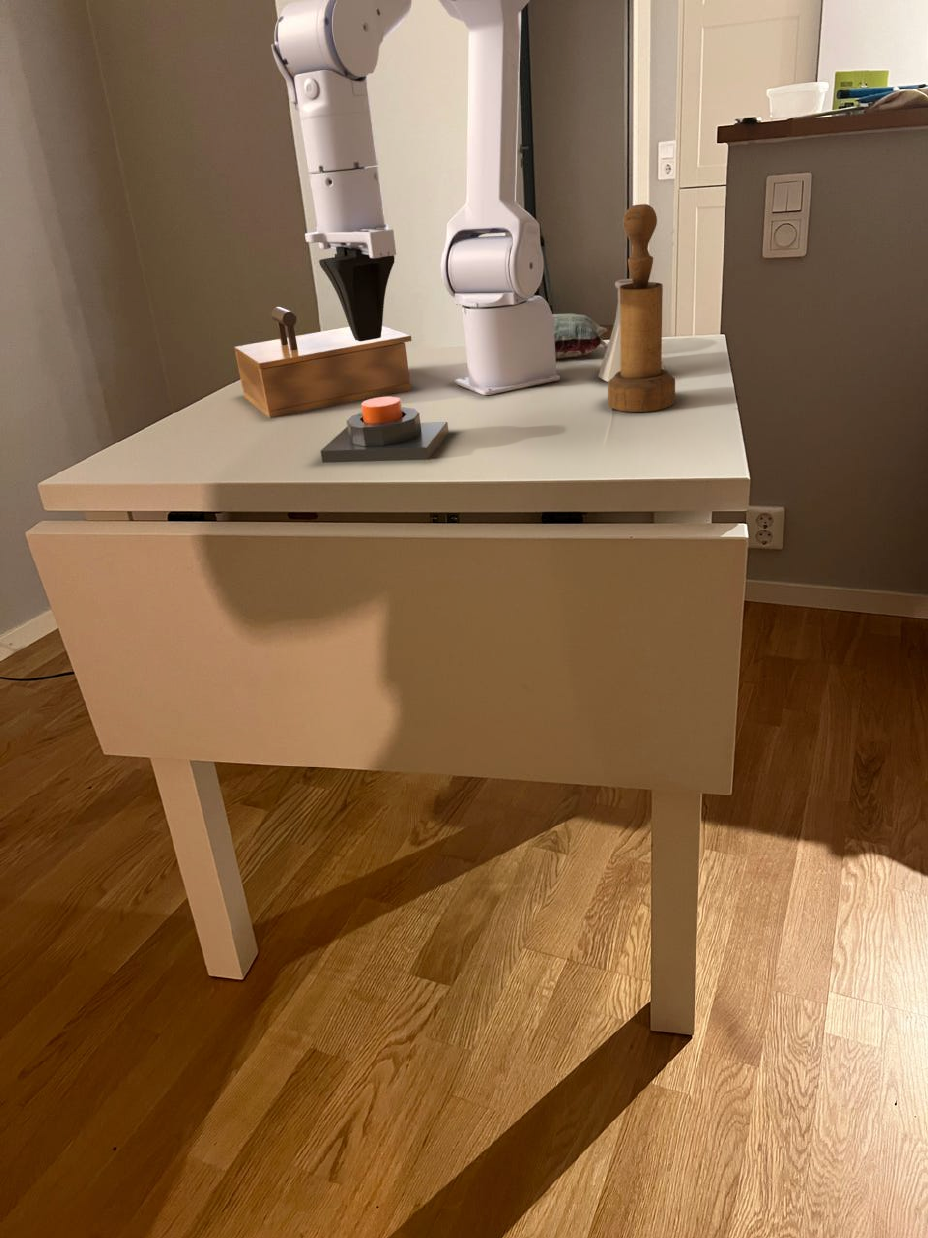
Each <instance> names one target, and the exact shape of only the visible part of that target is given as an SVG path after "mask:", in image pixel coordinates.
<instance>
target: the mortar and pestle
mask: <svg viewBox="0 0 928 1238" xmlns="http://www.w3.org/2000/svg"><path fill="white" fill-rule="evenodd" d="M622 220H623V221H622V227H623V228H622V229H623V230H624V233H625V234H626V237H627V238H628V240H629V242H630V243H631V249H632V250H631V255H630V257H629V258H628V259H627V263H628V270H629V274H630V277H631V279H632V280H633V283H630V284H624V285H621V286H620V334H621V371H619V372H617V373H616V374H615V375H614V377H613V378H612V379H610V380H609V382H607V404H608V407H609V408H611V409H614V410H615V411H620V412H627V413H630V412H631V413H645V412H647V413H649V412H655V411H661V410H663V409H667V408H669V407H672V406H673V405H674V404H675V402H676V378H675V377H674V376H672V375H671V374H670V373H669V372H668V371H667V370H666V369H665V368H664V369H665V370H664V369H662V363H663V361H662V356H663V355H662V354H663V351H662V349H663V292H664V291H663V286H664V285H663V283H661V282H655V281H650V277H651V274H652V273H651V272H652V269H653V264H654V256H652V255H651V254H650V253H649V244H650V241H651V238H652V237H653V234H654V232H655V231H656V228H657V225H658V217H657V213H656V211H655V209H654V208H653V207H652V206H651V205H650V204H647V203H642V204H634V205H631V206H630V207H628V209H627V210H626V211H625V213H624V215H623V218H622Z"/></svg>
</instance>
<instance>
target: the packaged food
mask: <svg viewBox="0 0 928 1238" xmlns="http://www.w3.org/2000/svg"><path fill="white" fill-rule="evenodd" d="M552 316H553V322H554V338H555V357H556V360H558V359H566V358H575V357H582V356H585V355H588V354H589V353H591V352H593V351H595V350H596V349H597V348H598V347H599V346H601V345H602V347H605V348H607V343H606V341H604V340H603V338H602V337H601V335H603V333H606V332H608V328H607V327H603V326H600V325H599V324H598V323H597V322H596V321H594V320H593V319H592V318H591V317H589V316H587V315H585V314H577V313H552Z"/></svg>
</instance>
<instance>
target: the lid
mask: <svg viewBox="0 0 928 1238" xmlns="http://www.w3.org/2000/svg"><path fill="white" fill-rule="evenodd" d="M270 315H271V318H272V320H273V321H275V322H276V323H277V330H278V336H279V338H276V339H272V340H271V339H270V340H266V341H260V342H255V343H248V344H242V345H237V346H234V347H233V349H234V352H235V353H237V354H239V355H240V356H242V357H243V358H245V359H246V360H248V361H249V362H251V363H252V364H254V365H255V366H257V367H258V368H260V369H263V368H268V367H274V366H279V365H285V364H290V363H295V362H301V361H306V360H312V359H317V358H322V357H328V356H333V355H339V354H344V353H349V352H355V351H360V350H366V349H371V348H377V347H382V346H387V345H393V344H398V343H409V342H412V341H413V340H412V335H411V334H410V335H409V334H407V333H405V332H401V331H399V330H396V329H393V328H390V327H387V326H384V325H382V332H381V338H377V339H372V340H367V341H361V342H359V341H357V340H355V339H354V336H353V334H352V332H351V329H350V327H349V326H346V327H340V328H333V329H329V330H323V331H317V332H312V333H311V332H310V333H306V334H299V335H296V332H295V331H296V330H295V327H294V326H296V324H297V315H296V314H295V312H293V311H291V310H288V309H286V308H283V307H281V306H276V307H274V308H273V309H272V310H271V314H270Z"/></svg>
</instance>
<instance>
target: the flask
mask: <svg viewBox="0 0 928 1238" xmlns="http://www.w3.org/2000/svg"><path fill="white" fill-rule="evenodd" d="M630 283H633V280H632V278H623V279H618V280H617V281H615V282H614V287H615V289H617V307H616V312H615V318H614V319H615V320H614V323H613V326H612V330H611V334H610V337H609V341H608V345H607V346H606V351H605V354H604V356H603V360H602V362H601V366H600V369H599V372H598V376H597V377H598V378H600V379H602V380H603V381H605V382H607V383H608V382H609V380H610V379H612V378H613V377H614V375H615V374H616V373H617V372H619V371H621V334H620V286H621V285H624V284H630ZM662 369H664V370H666V369H665V367H664V364H663V362H662Z"/></svg>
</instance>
